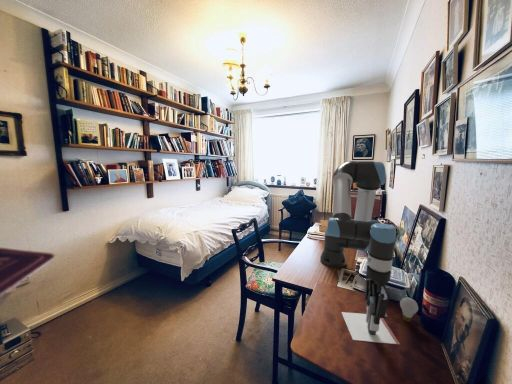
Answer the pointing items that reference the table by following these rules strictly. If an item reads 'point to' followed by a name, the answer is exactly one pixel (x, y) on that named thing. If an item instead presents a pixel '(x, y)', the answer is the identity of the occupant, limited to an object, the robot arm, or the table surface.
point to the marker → (370, 316)
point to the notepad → (360, 330)
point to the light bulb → (408, 308)
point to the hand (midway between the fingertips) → (371, 325)
